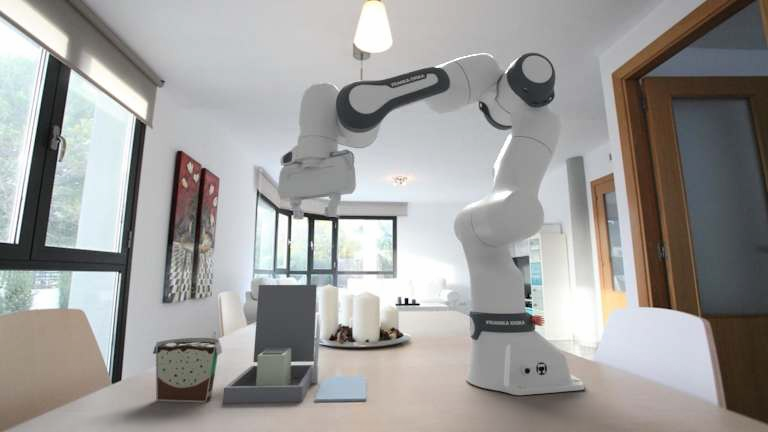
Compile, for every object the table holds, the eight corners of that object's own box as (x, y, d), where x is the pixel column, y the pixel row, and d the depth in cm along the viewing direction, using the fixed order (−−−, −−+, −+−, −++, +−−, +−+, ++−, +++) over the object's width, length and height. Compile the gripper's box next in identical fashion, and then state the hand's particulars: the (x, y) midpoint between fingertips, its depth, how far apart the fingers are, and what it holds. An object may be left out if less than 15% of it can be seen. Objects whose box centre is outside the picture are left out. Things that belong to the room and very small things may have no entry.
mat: (365, 378, 82) (365, 376, 82) (366, 400, 67) (366, 398, 67) (323, 378, 82) (323, 376, 82) (314, 401, 67) (314, 399, 67)
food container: (231, 392, 72) (235, 337, 74) (214, 402, 66) (218, 343, 68) (170, 390, 74) (175, 336, 75) (148, 400, 68) (153, 342, 69)
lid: (313, 361, 84) (314, 360, 85) (316, 284, 88) (317, 285, 89) (253, 362, 83) (255, 361, 84) (258, 284, 87) (260, 285, 88)
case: (320, 375, 84) (322, 314, 86) (308, 401, 67) (311, 324, 69) (252, 376, 84) (255, 314, 86) (222, 403, 66) (227, 324, 68)
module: (290, 383, 78) (291, 346, 79) (283, 394, 71) (284, 353, 72) (265, 384, 78) (267, 347, 79) (255, 394, 71) (257, 353, 72)
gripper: (363, 152, 81) (360, 216, 78) (296, 165, 92) (292, 222, 90) (344, 143, 76) (340, 211, 73) (275, 158, 87) (270, 218, 85)
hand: (313, 217), depth 82 cm, fingers open, 8 cm apart
